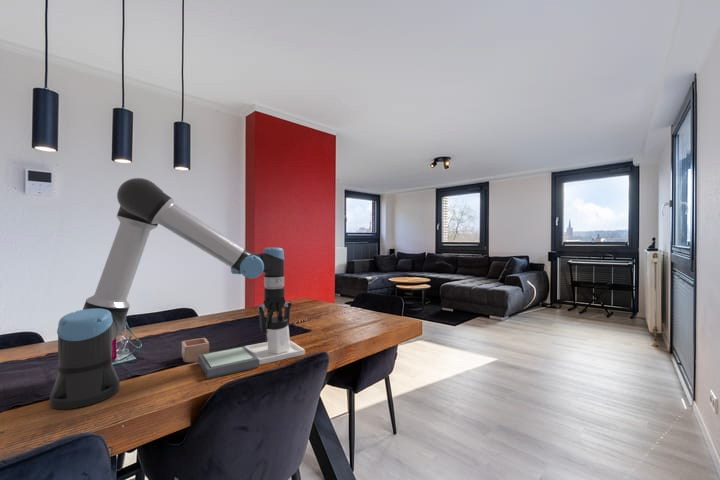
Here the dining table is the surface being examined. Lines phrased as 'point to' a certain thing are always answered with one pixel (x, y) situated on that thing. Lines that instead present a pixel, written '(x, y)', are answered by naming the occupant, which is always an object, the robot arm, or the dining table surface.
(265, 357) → the tray
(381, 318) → the dining table surface
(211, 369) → the block
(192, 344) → the cup
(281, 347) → the jar
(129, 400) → the dining table surface
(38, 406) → the dining table surface
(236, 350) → the plate
